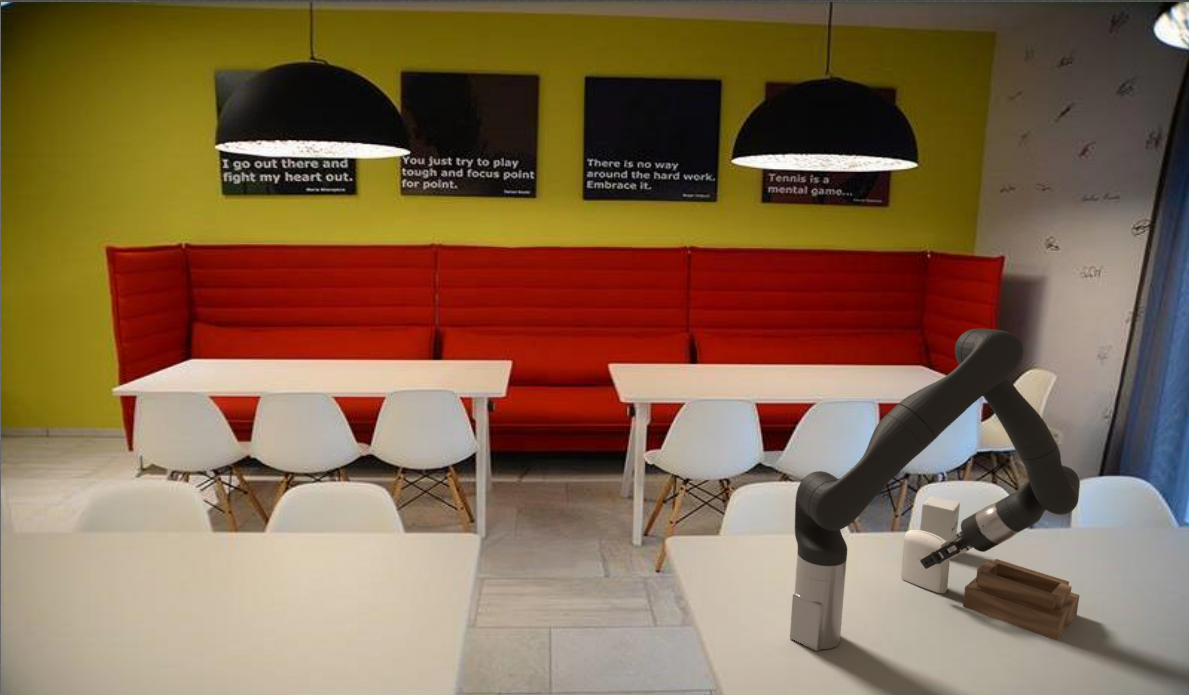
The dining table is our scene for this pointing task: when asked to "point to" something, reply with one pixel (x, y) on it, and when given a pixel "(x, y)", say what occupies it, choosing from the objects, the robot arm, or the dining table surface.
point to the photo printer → (913, 570)
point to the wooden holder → (1022, 598)
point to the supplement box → (940, 517)
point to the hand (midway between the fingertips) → (932, 558)
